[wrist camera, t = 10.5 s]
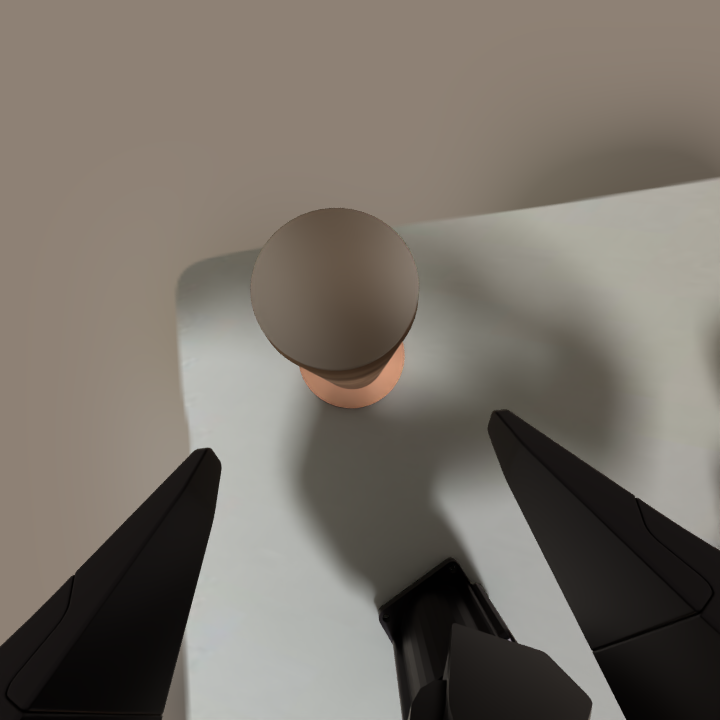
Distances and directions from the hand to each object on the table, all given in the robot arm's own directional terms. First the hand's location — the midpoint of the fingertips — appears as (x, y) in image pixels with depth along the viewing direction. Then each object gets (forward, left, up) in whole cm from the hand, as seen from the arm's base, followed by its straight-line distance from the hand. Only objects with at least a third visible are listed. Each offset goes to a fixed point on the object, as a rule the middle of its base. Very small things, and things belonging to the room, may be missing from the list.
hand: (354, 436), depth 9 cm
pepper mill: (+2, +4, -11) cm, 12 cm away
